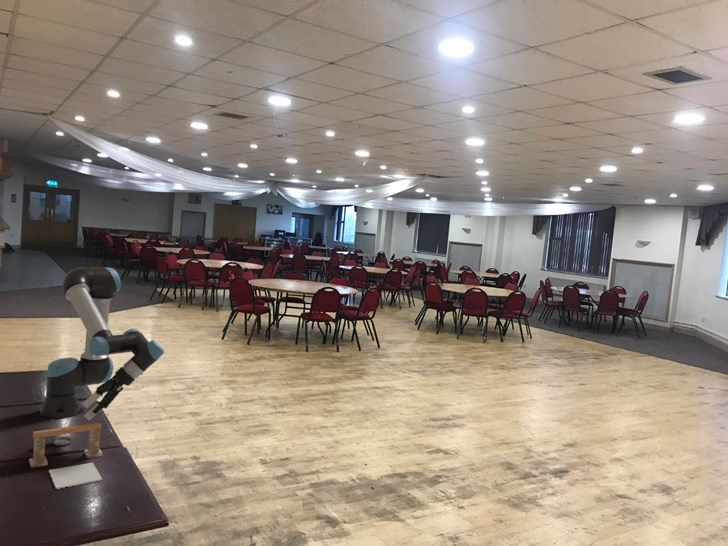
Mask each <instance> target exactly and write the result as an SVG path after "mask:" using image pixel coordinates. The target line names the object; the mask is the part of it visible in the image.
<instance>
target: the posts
mask: <svg viewBox="0 0 728 546" xmlns="http://www.w3.org/2000/svg"><path fill="white" fill-rule="evenodd" d="M88 432H89V434H88V449H84V455H85V457H86V458H87V459H92V458H98V457H103V452H102V450H101V449H100V441H101V440H100V439H101V429H97V430H90V431H88ZM45 450H46V437H40V438H33V453H32V458H29V459H28V460H29V461H28V463H29V465H30V468H32V469H33V468H39V467H43V466H48V465H49V464H48V460H47V457H46V456H45Z"/></svg>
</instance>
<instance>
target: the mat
mask: <svg viewBox="0 0 728 546" xmlns="http://www.w3.org/2000/svg"><path fill="white" fill-rule="evenodd" d="M49 473H50V474H49ZM48 474H49V475H50V478H52V479H51V481H52V483H53V486H54V488H55V490H56V489H57V490H62V489H61V488H63V489H66V488H65V487H68V488H71V487H72V486H73V487H78V486H82V485H88V484H93V483H98V482H102V481H103V477H102V476H101V474H100V473H99V471H98V469H97V467H96V466H95V463H94V462H89V463H88V462H87V463H82V464H78V465H77V464H76V465H72V466H71V465H70V466H65V467H59V468H53V469H49V470H48ZM101 480H102V481H101ZM97 481H98V482H97ZM73 487H72V488H73Z"/></svg>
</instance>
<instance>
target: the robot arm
mask: <svg viewBox="0 0 728 546" xmlns="http://www.w3.org/2000/svg"><path fill="white" fill-rule="evenodd" d="M121 284H122V283H121V278H120V275H119V273H118V272H117V271H116V269H114V268H113V267H104V266H103V267H101V266H99V267H77V268H74V269H72V270H70V271H68V272H67V273H66V275H65V277H64V278H63V281H62V291H63V295H64V297H65V298H66V300H67V301H69V302H71V304H72V306H73V307H74V309H75V311H76V313H77V316H78V317H79V319H80V321H81V322H82V324H83V326H84V328H85V331H86V332H85V343H84V344H85V345H84V352H82V353H81V354H80V359H79V360H78V358H75V357H61V358H58V359H55V360H53V361H51V362H50V363H48V365H47V371H46V388H45V397H44V400H43V402H42V406H41V407H40V409H39V410H40V411H39V412H40V415H41V416H42V417H44V418H48V419H65V418H69V417H73V416H75V414H76V415H77V414H79V413H80V406H81V405H82V406H83V407H84V408H85V409H89V408H90V407H91V406H92V405H93V404H94V403H95V402H96V401H97V400H99V398H101V397H102V399H101V400H100V401H97V403H96V404H95V405H94V406H93V407H92V408H91V409H89V410H88V411H87V412H85V414H84V415H83V417H84V418H85V419H86V420H88V421H91V420H92V419H93V418H94V417H95V416H96V415H97V414H99V413H100V412H101V411H102V410H103V409H107V408H108V407H109V406H110V405H111V403H112V402H113V401H114V400H115V399H116V397H117V396H118V395H119V394H120V392H122V391H123V390H124V387H123V386H124V385H126V386H130V385H131V384H133V383H134V382H135V379H137V378H139V377H140V376H143V375H144V372H145V371H146V370H147V369H149V368H150V367H151V366H152V365H153V364H154V363H156V362H157V361H158V360H159V359H160V358H161V357H162V356H163V355H164V354H165V350H164V349H163V348H162V346H161V345H160V344H158V343H157V341H155V340H154V339H151V340H150V341H149V340H148V339H147V338H146V337H145V335H144V334H143V333H142V332H140V330H139V329H137V328H129V329H128V330H125V331H124V332H123V333H122V334H115V335H113V333H112V332H111V330H110V328H109V315H110V303H111V301H112V300H113V299H114V297H115V294H117V293H118V292H120V289H121ZM123 353H124V354H125V353H132V354H133V355H132V356H131V358H129V359H128V360H127V361H126V362H125V363H124V364H123V366H121V367H119V368H118V369H117V371H115V373H114V375H113V372H114V364H113V359H112V358H111V357H110V355H117V354H123ZM99 384H100V385H99ZM93 385H98V387H96V390H95V392H93V393H92V394H91V395H90V396H89V397H87V399H85V400H84V401H83V402H82V403H81V405H80V404H79V400H78V397H77V388H80V387H85V386H93ZM78 412H79V413H78Z"/></svg>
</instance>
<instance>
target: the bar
mask: <svg viewBox="0 0 728 546" xmlns="http://www.w3.org/2000/svg"><path fill="white" fill-rule="evenodd" d="M102 425H103V424H102V423H101V422H95V423H88V424H80V425H71V426H65V427H57V428H56V427H55V429H50V428H49V429H43V430H33V431H32V438H33V439H34V438H40V437H45V438H46V437H50V436H54V435H56V436H62V435H66V434H74V433H81V432H87V431H88V432H89V431H90V430H97V429H100V430H101V429H102Z"/></svg>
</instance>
